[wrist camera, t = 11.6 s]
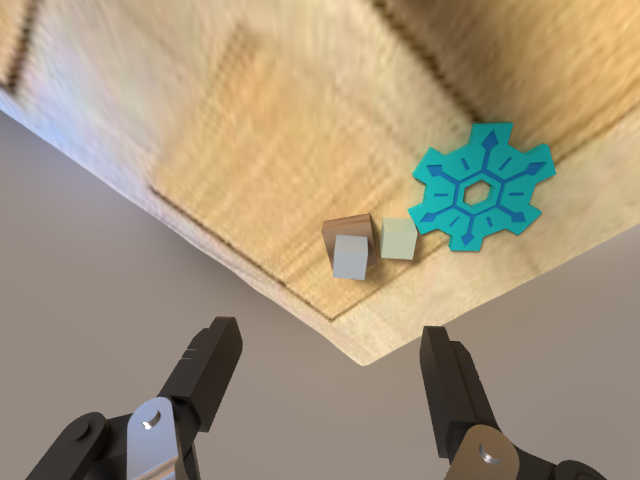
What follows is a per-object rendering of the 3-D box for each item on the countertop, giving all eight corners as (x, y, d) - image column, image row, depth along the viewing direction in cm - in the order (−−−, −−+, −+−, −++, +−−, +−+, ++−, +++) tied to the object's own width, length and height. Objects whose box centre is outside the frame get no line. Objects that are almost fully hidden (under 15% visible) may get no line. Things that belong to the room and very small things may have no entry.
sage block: (412, 218, 48) (382, 216, 48) (417, 232, 44) (384, 231, 44) (408, 243, 51) (379, 242, 51) (412, 259, 46) (381, 257, 47)
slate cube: (336, 234, 47) (334, 250, 43) (367, 237, 47) (367, 253, 42) (335, 259, 50) (332, 277, 45) (364, 261, 49) (364, 280, 45)
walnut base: (324, 220, 50) (321, 231, 47) (369, 212, 49) (370, 223, 45) (334, 257, 54) (332, 269, 51) (376, 251, 52) (377, 263, 49)
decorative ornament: (523, 246, 48) (567, 119, 38) (528, 251, 47) (575, 121, 37) (403, 244, 51) (416, 125, 41) (404, 249, 49) (418, 127, 39)
